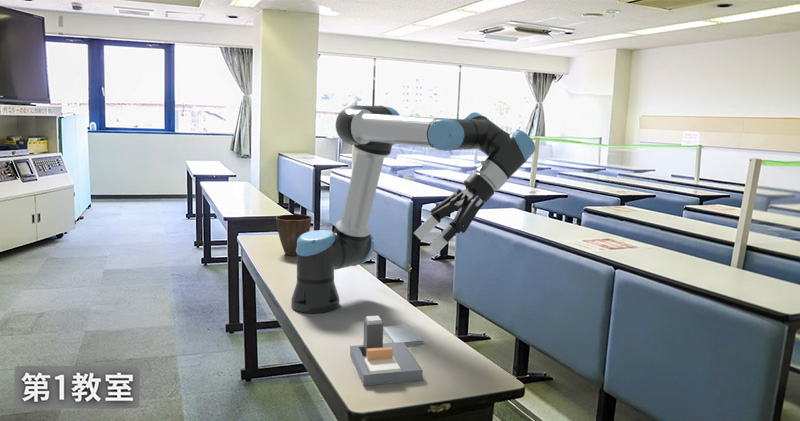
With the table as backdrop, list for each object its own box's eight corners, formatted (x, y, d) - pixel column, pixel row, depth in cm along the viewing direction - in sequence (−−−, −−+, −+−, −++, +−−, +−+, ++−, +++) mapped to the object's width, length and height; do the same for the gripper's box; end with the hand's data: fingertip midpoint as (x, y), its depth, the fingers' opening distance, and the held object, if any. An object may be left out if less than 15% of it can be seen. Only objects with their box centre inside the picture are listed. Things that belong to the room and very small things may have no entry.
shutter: (364, 361, 139) (364, 348, 139) (392, 359, 141) (393, 346, 140) (370, 374, 132) (370, 361, 132) (400, 371, 134) (400, 358, 134)
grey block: (363, 357, 148) (363, 315, 146) (378, 356, 149) (379, 314, 147) (366, 364, 144) (367, 321, 142) (382, 362, 145) (383, 320, 143)
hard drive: (424, 340, 158) (409, 323, 169) (395, 343, 155) (381, 326, 167) (424, 346, 158) (408, 329, 170) (395, 349, 155) (381, 331, 167)
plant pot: (272, 251, 255) (272, 215, 252) (306, 248, 261) (306, 213, 259) (280, 259, 242) (280, 221, 239) (315, 256, 248) (315, 219, 245)
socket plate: (350, 355, 149) (350, 346, 149) (403, 350, 153) (403, 341, 152) (363, 385, 133) (363, 375, 133) (422, 379, 137) (422, 369, 136)
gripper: (457, 166, 157) (401, 222, 156) (496, 177, 133) (430, 243, 132) (475, 185, 159) (420, 241, 158) (516, 199, 136) (452, 265, 134)
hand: (425, 242), depth 145 cm, fingers open, 13 cm apart
